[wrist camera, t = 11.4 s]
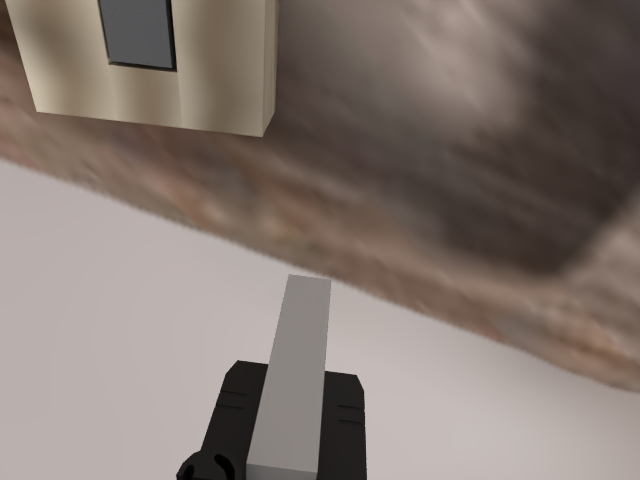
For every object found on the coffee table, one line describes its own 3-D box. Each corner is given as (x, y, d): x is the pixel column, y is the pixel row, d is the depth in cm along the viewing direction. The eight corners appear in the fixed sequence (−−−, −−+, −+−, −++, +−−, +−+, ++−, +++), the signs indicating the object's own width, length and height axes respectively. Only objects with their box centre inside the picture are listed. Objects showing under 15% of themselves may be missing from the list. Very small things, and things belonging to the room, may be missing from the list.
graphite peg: (195, -5, 29) (164, -4, 24) (198, 54, 31) (171, 67, 26) (140, -12, 29) (97, -12, 23) (147, 48, 31) (110, 60, 26)
